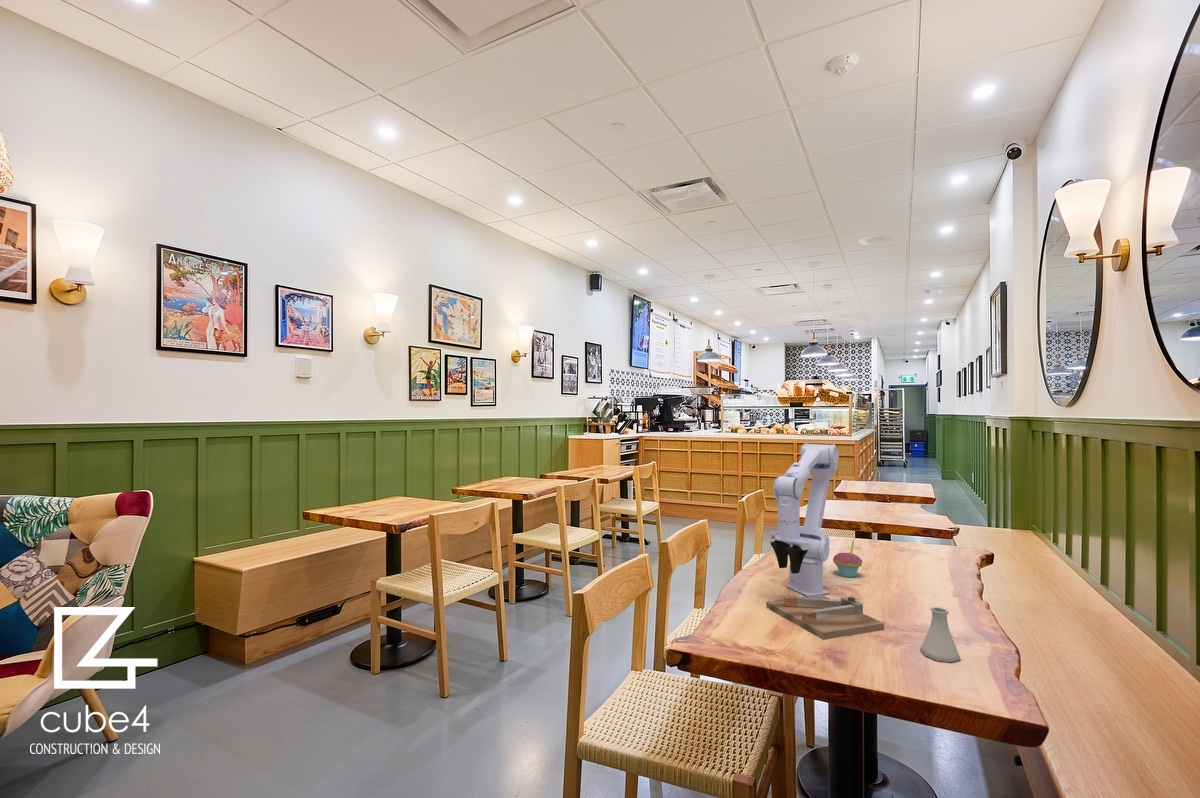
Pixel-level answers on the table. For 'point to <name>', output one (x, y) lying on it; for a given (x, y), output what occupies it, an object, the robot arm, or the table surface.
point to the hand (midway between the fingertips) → (789, 570)
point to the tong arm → (811, 602)
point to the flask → (939, 638)
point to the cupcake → (847, 563)
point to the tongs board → (829, 618)
